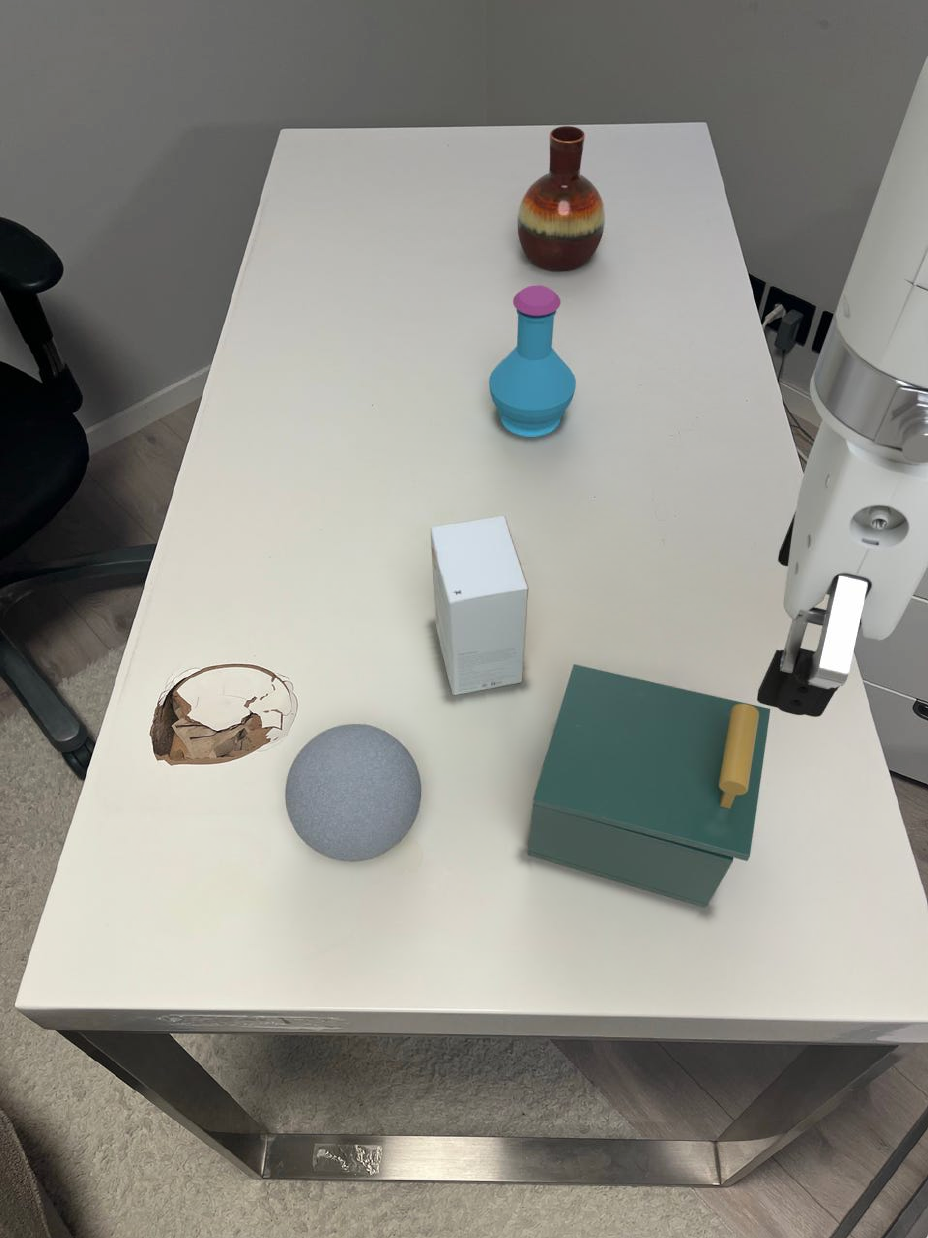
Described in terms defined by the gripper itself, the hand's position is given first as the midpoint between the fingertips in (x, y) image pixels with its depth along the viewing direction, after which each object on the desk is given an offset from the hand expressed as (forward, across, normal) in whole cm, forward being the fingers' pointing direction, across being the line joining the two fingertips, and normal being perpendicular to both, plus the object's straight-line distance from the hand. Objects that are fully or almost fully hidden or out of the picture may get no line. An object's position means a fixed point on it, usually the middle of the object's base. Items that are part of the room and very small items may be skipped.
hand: (797, 632), depth 49 cm
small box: (+26, +11, +22) cm, 36 cm away
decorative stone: (+26, -7, +26) cm, 38 cm away
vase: (+26, +75, +31) cm, 85 cm away
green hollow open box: (+26, 0, +6) cm, 27 cm away
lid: (+17, 0, +5) cm, 18 cm away
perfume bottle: (+26, +43, +26) cm, 57 cm away
